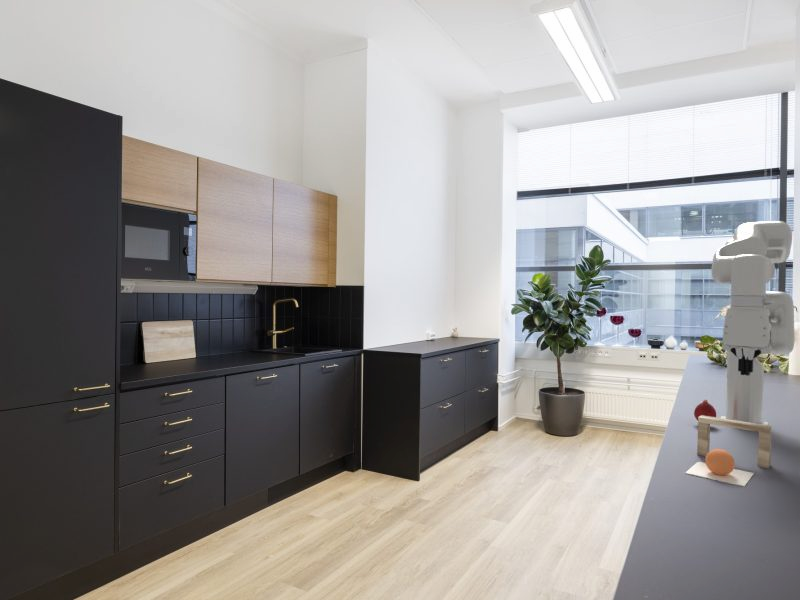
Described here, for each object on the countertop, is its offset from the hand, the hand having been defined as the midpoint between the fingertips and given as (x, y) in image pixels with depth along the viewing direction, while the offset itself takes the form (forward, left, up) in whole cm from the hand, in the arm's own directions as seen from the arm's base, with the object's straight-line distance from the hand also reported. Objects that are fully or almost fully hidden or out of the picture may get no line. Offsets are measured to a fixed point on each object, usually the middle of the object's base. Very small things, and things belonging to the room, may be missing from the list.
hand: (745, 374), depth 136 cm
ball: (+28, 0, -16) cm, 32 cm away
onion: (-20, -13, -19) cm, 31 cm away
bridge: (+13, 0, -19) cm, 23 cm away
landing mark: (+27, 0, -19) cm, 33 cm away
